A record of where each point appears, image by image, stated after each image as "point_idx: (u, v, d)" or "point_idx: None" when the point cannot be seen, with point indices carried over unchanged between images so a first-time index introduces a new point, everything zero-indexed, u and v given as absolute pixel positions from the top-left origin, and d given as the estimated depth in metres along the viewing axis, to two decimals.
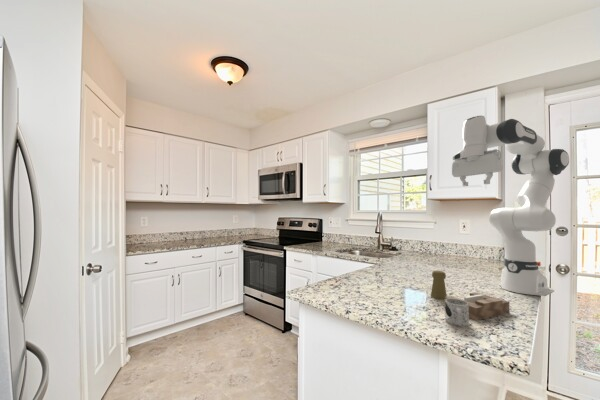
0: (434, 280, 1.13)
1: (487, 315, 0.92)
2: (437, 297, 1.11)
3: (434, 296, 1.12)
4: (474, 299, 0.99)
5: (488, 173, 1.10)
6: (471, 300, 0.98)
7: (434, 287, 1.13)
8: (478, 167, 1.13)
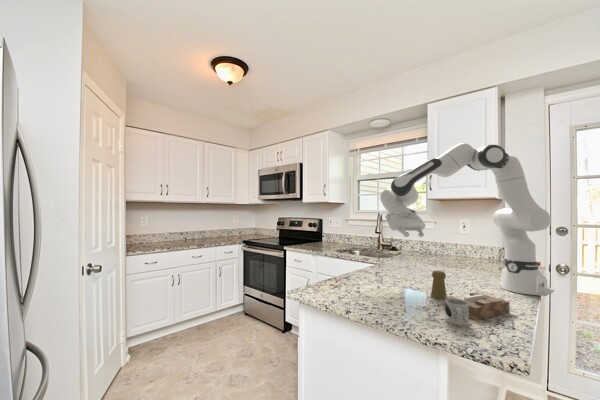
0: (434, 280, 1.13)
1: (487, 315, 0.92)
2: (437, 297, 1.11)
3: (434, 296, 1.12)
4: (474, 299, 0.99)
5: None
6: (471, 300, 0.98)
7: (434, 287, 1.13)
8: None
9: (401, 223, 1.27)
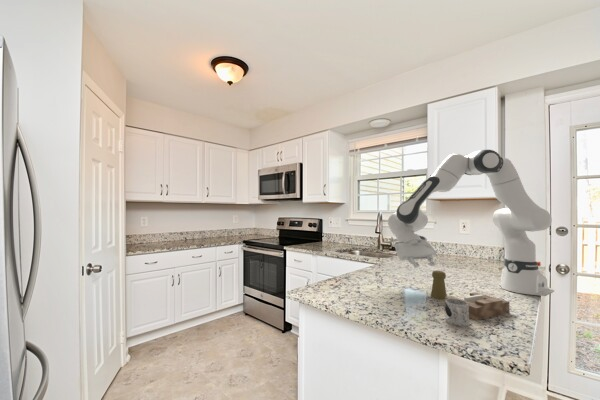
0: (434, 280, 1.13)
1: (487, 315, 0.92)
2: (437, 297, 1.11)
3: (434, 296, 1.12)
4: (474, 299, 0.99)
5: None
6: (471, 300, 0.98)
7: (434, 287, 1.13)
8: None
9: (410, 252, 1.21)
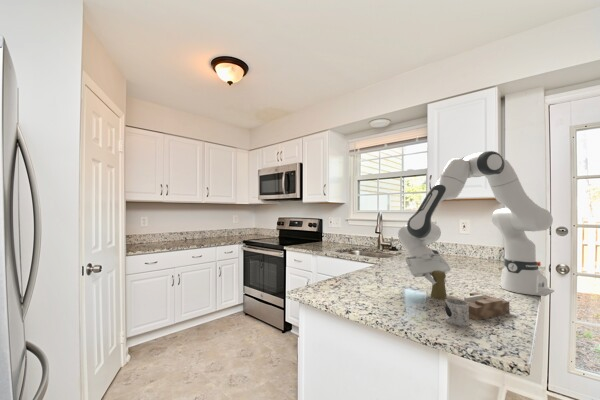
0: None
1: (487, 315, 0.92)
2: (437, 297, 1.11)
3: (434, 296, 1.12)
4: (474, 299, 0.99)
5: None
6: (471, 300, 0.98)
7: (434, 287, 1.13)
8: None
9: (424, 268, 1.14)
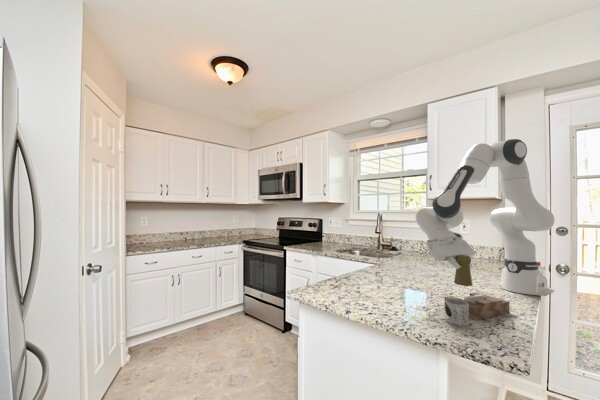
0: None
1: (487, 315, 0.92)
2: (462, 283, 1.01)
3: (458, 282, 1.02)
4: (474, 299, 0.99)
5: None
6: (471, 300, 0.98)
7: (458, 273, 1.03)
8: None
9: (446, 252, 1.04)
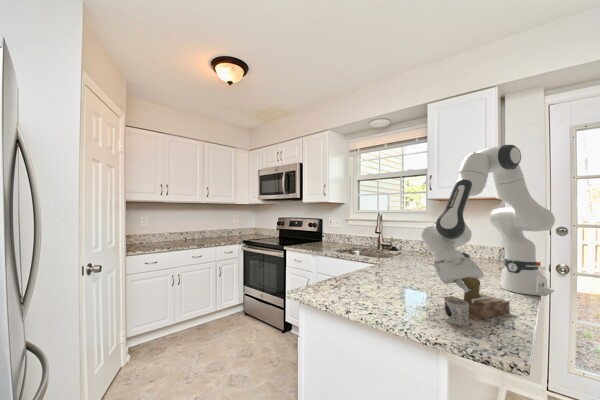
0: None
1: (487, 315, 0.92)
2: None
3: None
4: None
5: None
6: None
7: (467, 296, 1.00)
8: None
9: (455, 274, 1.01)
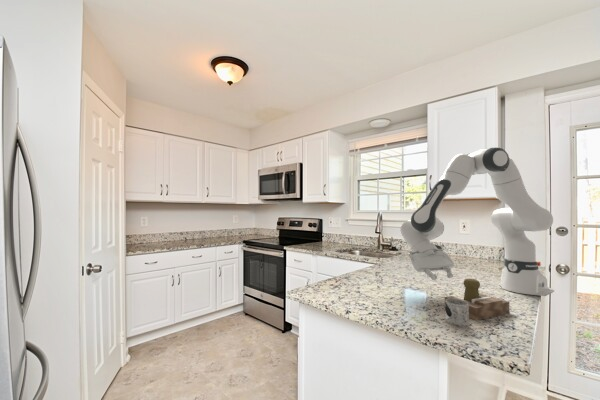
0: (466, 289, 1.00)
1: (487, 315, 0.92)
2: None
3: None
4: None
5: None
6: None
7: (467, 297, 1.00)
8: None
9: (427, 263, 1.13)
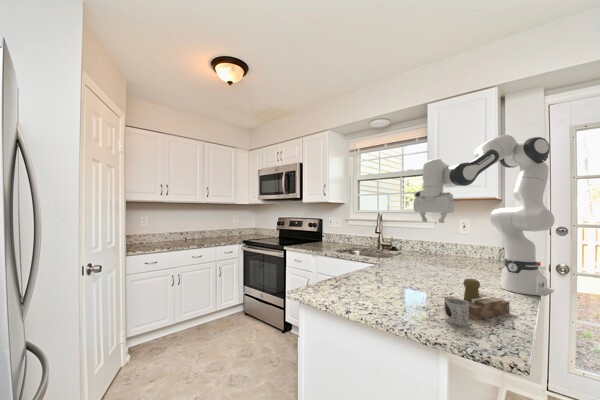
0: (466, 289, 1.00)
1: (487, 315, 0.92)
2: None
3: None
4: None
5: (442, 213, 1.21)
6: None
7: (467, 297, 1.00)
8: (434, 207, 1.24)
9: None
